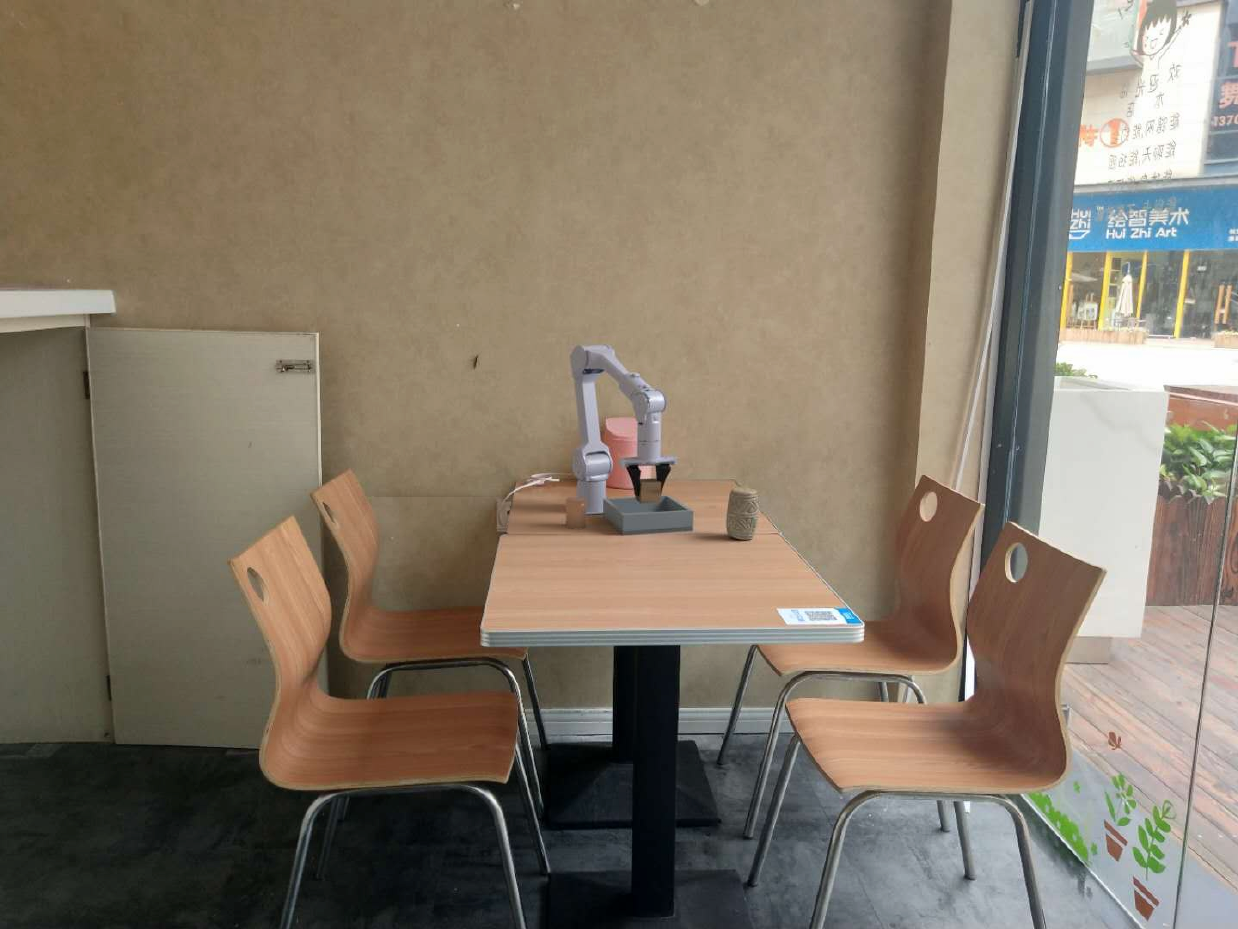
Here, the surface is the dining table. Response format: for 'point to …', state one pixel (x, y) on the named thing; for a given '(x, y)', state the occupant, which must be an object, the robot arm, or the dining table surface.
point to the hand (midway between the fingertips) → (647, 494)
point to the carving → (742, 513)
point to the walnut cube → (649, 491)
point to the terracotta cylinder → (575, 512)
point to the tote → (647, 515)
